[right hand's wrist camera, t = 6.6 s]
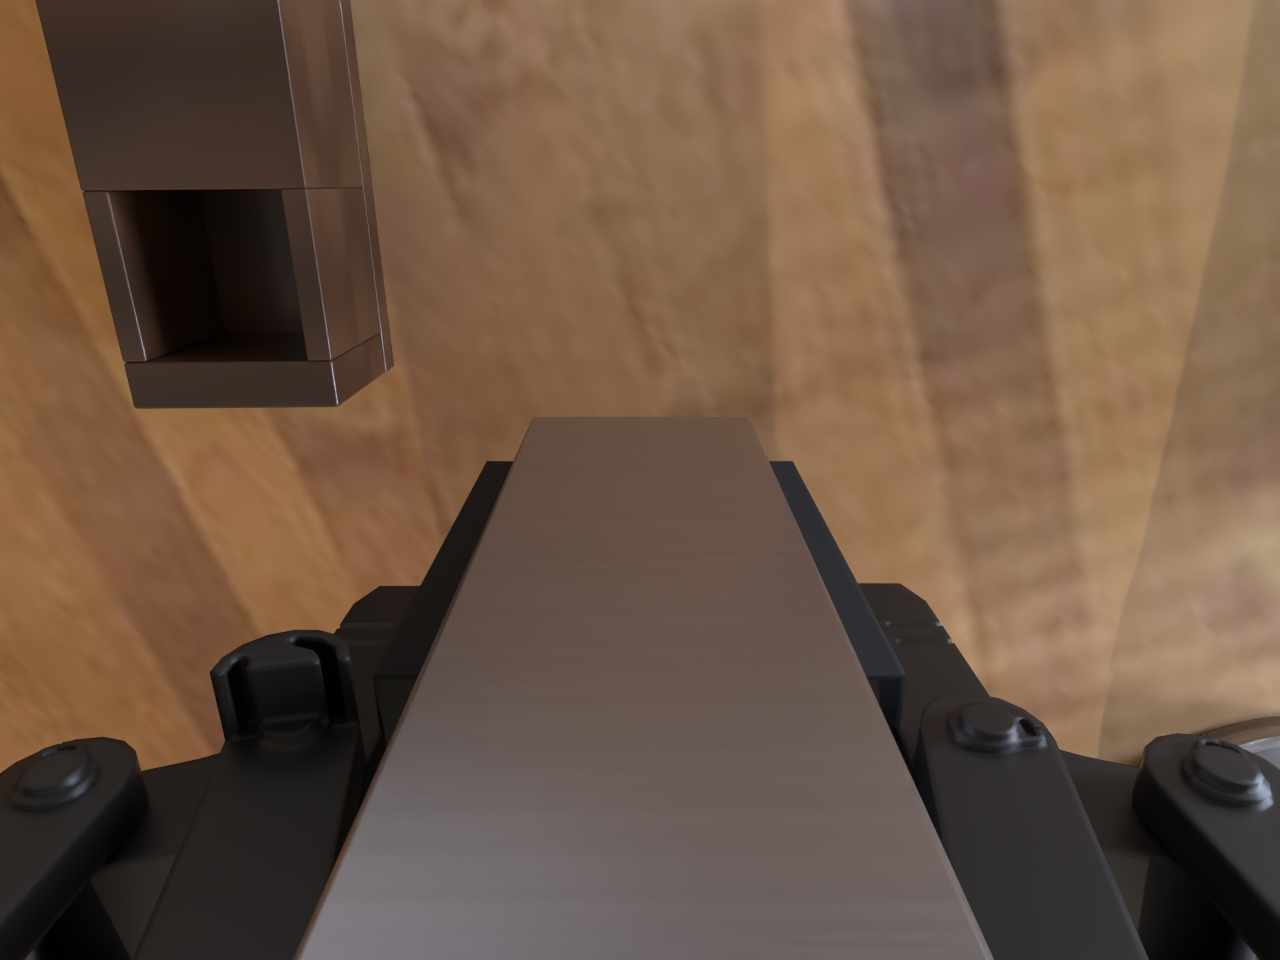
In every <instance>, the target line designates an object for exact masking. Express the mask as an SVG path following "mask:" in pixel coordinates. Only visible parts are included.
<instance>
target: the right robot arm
mask: <svg viewBox="0 0 1280 960" xmlns="http://www.w3.org/2000/svg"><path fill="white" fill-rule="evenodd" d="M512 463H513V461H487V462H486V464H485V466H484V468H483V470H482V471H481V473H480V475H479V477H478V479H477V481H476V483H475V485H474V486H473V488H472V490H471V492H470V494H469V496H468V498H467V500H466V501H465V503H464V505H463V507H462V509H461V511H460V513H459V515H458V516H457V518H456V520H455V522H454V524H453V526H452V528H451V530H450V531H449V533H448V535H447V537H446V539H445V541H444V543H443V545H442V546H441V548H440V550H439V552H438V554H437V556H436V558H435V560H434V561H433V563H432V565H431V567H430V569H429V571H428V573H427V575H426V576H425V578H424V580H423V582H422V584H421V586H379V587H378V588H376V589H375V590H373V591H372V592H370V593H369V594H368V595H366V596H365V597H363V598H362V599H360V600H359V601H357V602H356V603H354V604H353V606H352V607H351V609H350V610H349V612H348V613H347V615H346V616H345V618H344V619H343V621H342V622H341V624H340V629H337V630H336V631H335V633H334V634H331V633H327V632H324V631H320V630H292V631H286V632H281V633H276V634H271V635H267V636H264V637H261V638H259V639H256V640H254V641H251V642H248V643H246V644H243V645H241V646H240V647H238V648H237V649H235V650H233V651H232V652H230V653H229V654H227V655H226V656H224V657H222V659H221V660H220V661H219V662H218V663H217V664H216V666H215V667H214V668H213V669H212V670H211V671H210V676H211V680H212V684H213V689H214V693H215V697H216V702H217V706H218V711H219V715H220V719H221V724H222V728H223V732H224V737H225V742H224V745H223V747H222V749H221V752H220V753H218V754H215V755H211V756H208V757H204V758H200V759H196V760H192V761H187V762H182V763H178V764H173V765H168V766H163V767H159V768H154V769H149V770H144V771H141V769H140V765H139V762H138V758H137V754H136V751H135V750H134V749H133V748H132V747H131V746H129V745H128V744H127V743H126V742H125V741H123V740H117V739H112V738H106V737H97V738H87V739H76V740H73V741H68V742H63V743H62V744H56V745H53V746H50V747H47V748H44V749H42V750H40V751H39V752H37V753H35V754H33V755H30V756H28V757H26V758H24V759H22V760H20V761H18V762H16V763H14V764H13V765H11V766H10V767H9V768H7V769H6V770H4V771H3V772H2V773H0V960H293V958H294V956H295V953H296V951H297V949H298V947H299V944H300V942H301V940H302V938H303V935H304V933H305V931H306V929H307V926H308V924H309V922H310V920H311V917H312V915H313V913H314V911H315V908H316V906H317V904H318V901H319V899H320V897H321V895H322V892H323V890H324V888H325V886H326V883H327V881H328V879H329V877H330V874H331V872H332V870H333V868H334V865H335V863H336V861H337V859H338V856H339V854H340V852H341V850H342V847H343V845H344V843H345V841H346V838H347V836H348V834H349V831H350V829H351V827H352V825H353V822H354V820H355V818H356V816H357V813H358V811H359V809H360V807H361V804H362V802H363V800H364V798H365V795H366V793H367V791H368V789H369V786H370V784H371V782H372V780H373V777H374V775H375V773H376V771H377V768H378V766H379V764H380V762H381V759H382V757H383V755H384V752H385V750H386V748H387V746H388V743H389V741H390V739H391V737H392V734H393V732H394V730H395V728H396V725H397V723H398V721H399V719H400V716H401V714H402V712H403V710H404V707H405V705H406V703H407V701H408V698H409V696H410V694H411V692H412V689H413V687H414V685H415V682H416V680H417V678H418V676H419V673H420V671H421V669H422V667H423V664H424V662H425V660H426V658H427V655H428V653H429V651H430V649H431V646H432V644H433V642H434V640H435V637H436V635H437V633H438V631H439V628H440V626H441V624H442V622H443V619H444V617H445V615H446V612H447V610H448V608H449V606H450V603H451V601H452V599H453V597H454V594H455V592H456V590H457V588H458V585H459V583H460V581H461V579H462V576H463V574H464V572H465V570H466V567H467V565H468V563H469V561H470V558H471V556H472V554H473V552H474V549H475V547H476V545H477V542H478V540H479V538H480V536H481V533H482V531H483V529H484V527H485V524H486V522H487V520H488V518H489V515H490V513H491V511H492V509H493V506H494V504H495V502H496V500H497V497H498V495H499V493H500V491H501V488H502V486H503V484H504V482H505V479H506V477H507V475H508V472H509V470H510V468H511V466H512ZM769 463H770V465H771V467H772V469H773V471H774V474H775V476H776V478H777V480H778V483H779V485H780V487H781V489H782V491H783V494H784V496H785V498H786V500H787V502H788V505H789V507H790V509H791V511H792V514H793V516H794V518H795V520H796V522H797V525H798V527H799V529H800V531H801V533H802V536H803V538H804V540H805V542H806V545H807V547H808V549H809V551H810V553H811V556H812V558H813V560H814V562H815V564H816V567H817V569H818V571H819V573H820V576H821V578H822V580H823V582H824V584H825V587H826V589H827V591H828V593H829V595H830V598H831V600H832V602H833V604H834V607H835V609H836V611H837V613H838V615H839V618H840V620H841V622H842V624H843V626H844V629H845V631H846V633H847V635H848V638H849V640H850V642H851V644H852V646H853V649H854V651H855V653H856V655H857V657H858V660H859V662H860V664H861V666H862V669H863V671H864V673H865V675H866V677H867V680H868V682H869V684H870V686H871V688H872V691H873V693H874V695H875V697H876V700H877V702H878V704H879V706H880V708H881V711H882V713H883V715H884V717H885V719H886V722H887V724H888V726H889V728H890V731H891V733H892V735H893V737H894V739H895V742H896V744H897V746H898V748H899V750H900V753H901V755H902V757H903V759H904V762H905V764H906V766H907V768H908V770H909V773H910V775H911V777H912V779H913V782H914V784H915V786H916V788H917V790H918V793H919V795H920V797H921V799H922V801H923V804H924V806H925V808H926V810H927V813H928V815H929V817H930V819H931V821H932V824H933V826H934V828H935V830H936V832H937V835H938V837H939V839H940V841H941V844H942V846H943V848H944V850H945V852H946V855H947V857H948V859H949V861H950V863H951V866H952V868H953V870H954V872H955V875H956V877H957V879H958V881H959V883H960V886H961V888H962V890H963V892H964V894H965V897H966V899H967V901H968V903H969V906H970V908H971V910H972V912H973V914H974V917H975V919H976V921H977V923H978V925H979V928H980V930H981V932H982V934H983V937H984V939H985V941H986V943H987V945H988V948H989V950H990V952H991V954H992V956H993V959H994V960H1280V717H1269V718H1261V719H1254V720H1249V721H1244V722H1239V723H1236V724H1232V725H1229V726H1225V727H1222V728H1219V729H1216V730H1213V731H1210V732H1207V733H1205V734H1203V735H1189V734H1179V733H1176V734H1171V735H1166V736H1160V737H1156V738H1155V739H1154V740H1153V741H1151V742H1150V743H1149V744H1148V745H1147V746H1146V747H1145V748H1144V752H1143V756H1142V759H1141V763H1140V766H1139V768H1138V767H1133V766H1128V765H1123V764H1119V763H1114V762H1109V761H1104V760H1099V759H1095V758H1090V757H1085V756H1081V755H1077V754H1074V753H1070V752H1066V751H1063V750H1060V749H1059V748H1058V746H1057V743H1056V741H1055V739H1054V738H1053V736H1052V735H1051V734H1050V732H1049V731H1048V729H1047V728H1046V727H1045V725H1044V724H1043V723H1042V722H1041V721H1039V720H1038V719H1036V718H1035V717H1034V716H1032V715H1031V714H1030V713H1028V712H1027V711H1026V710H1024V709H1022V708H1020V707H1018V706H1015V705H1013V704H1011V703H1008V702H1006V701H1004V700H1002V699H999V698H994V697H990V696H989V694H988V693H987V691H986V690H985V689H984V687H983V686H982V684H981V683H980V681H979V680H978V678H977V677H976V675H975V674H974V672H973V671H972V669H971V668H970V666H969V665H968V663H967V662H966V660H965V659H964V657H963V656H962V654H961V653H960V651H959V650H958V648H957V647H956V645H955V644H954V643H951V638H950V636H949V635H948V633H947V632H946V630H945V629H944V627H943V626H940V621H939V620H938V618H937V617H936V616H935V614H934V613H933V611H932V610H931V608H930V607H929V605H928V604H927V602H926V601H925V600H923V599H922V598H920V597H919V596H918V595H916V594H915V593H913V592H912V591H910V590H909V589H907V588H906V587H904V586H903V585H901V584H858V583H857V581H856V579H855V577H854V576H853V574H852V572H851V570H850V568H849V566H848V564H847V562H846V561H845V559H844V557H843V555H842V553H841V551H840V549H839V547H838V546H837V544H836V542H835V540H834V538H833V536H832V534H831V532H830V531H829V529H828V527H827V525H826V523H825V521H824V519H823V517H822V516H821V514H820V512H819V510H818V508H817V506H816V504H815V502H814V501H813V499H812V497H811V495H810V493H809V491H808V489H807V487H806V486H805V484H804V482H803V480H802V478H801V476H800V474H799V472H798V471H797V469H796V467H795V465H794V463H793V461H769Z"/></svg>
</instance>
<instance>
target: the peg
mask: <svg viewBox="0 0 1280 960" xmlns="http://www.w3.org/2000/svg"><path fill="white" fill-rule="evenodd" d="M293 960H994V959H993V956H992V954H991V952H990V950H989V948H988V945H987V943H986V941H985V939H984V937H983V934H982V932H981V930H980V928H979V925H978V923H977V921H976V919H975V917H974V914H973V912H972V910H971V908H970V906H969V903H968V901H967V899H966V897H965V894H964V892H963V890H962V888H961V886H960V883H959V881H958V879H957V877H956V875H955V872H954V870H953V868H952V866H951V863H950V861H949V859H948V857H947V855H946V852H945V850H944V848H943V846H942V844H941V841H940V839H939V837H938V835H937V832H936V830H935V828H934V826H933V824H932V821H931V819H930V817H929V815H928V813H927V810H926V808H925V806H924V804H923V801H922V799H921V797H920V795H919V793H918V790H917V788H916V786H915V784H914V782H913V779H912V777H911V775H910V773H909V770H908V768H907V766H906V764H905V762H904V759H903V757H902V755H901V753H900V750H899V748H898V746H897V744H896V742H895V739H894V737H893V735H892V733H891V731H890V728H889V726H888V724H887V722H886V719H885V717H884V715H883V713H882V711H881V708H880V706H879V704H878V702H877V700H876V697H875V695H874V693H873V691H872V688H871V686H870V684H869V682H868V680H867V677H866V675H865V673H864V671H863V669H862V666H861V664H860V662H859V660H858V657H857V655H856V653H855V651H854V649H853V646H852V644H851V642H850V640H849V638H848V635H847V633H846V631H845V629H844V626H843V624H842V622H841V620H840V618H839V615H838V613H837V611H836V609H835V607H834V604H833V602H832V600H831V598H830V595H829V593H828V591H827V589H826V587H825V584H824V582H823V580H822V578H821V576H820V573H819V571H818V569H817V567H816V564H815V562H814V560H813V558H812V556H811V553H810V551H809V549H808V547H807V545H806V542H805V540H804V538H803V536H802V533H801V531H800V529H799V527H798V525H797V522H796V520H795V518H794V516H793V514H792V511H791V509H790V507H789V505H788V502H787V500H786V498H785V496H784V494H783V491H782V489H781V487H780V485H779V483H778V480H777V478H776V476H775V474H774V471H773V469H772V467H771V465H770V463H769V460H768V458H767V456H766V454H765V452H764V449H763V447H762V445H761V443H760V440H759V438H758V436H757V434H756V432H755V429H754V427H753V425H752V423H751V420H750V418H747V417H535V418H532V421H531V423H530V425H529V427H528V430H527V432H526V434H525V436H524V439H523V441H522V443H521V445H520V448H519V450H518V452H517V454H516V457H515V459H514V461H513V463H512V466H511V468H510V470H509V472H508V475H507V477H506V479H505V482H504V484H503V486H502V488H501V491H500V493H499V495H498V497H497V500H496V502H495V504H494V506H493V509H492V511H491V513H490V515H489V518H488V520H487V522H486V524H485V527H484V529H483V531H482V533H481V536H480V538H479V540H478V542H477V545H476V547H475V549H474V552H473V554H472V556H471V558H470V561H469V563H468V565H467V567H466V570H465V572H464V574H463V576H462V579H461V581H460V583H459V585H458V588H457V590H456V592H455V594H454V597H453V599H452V601H451V603H450V606H449V608H448V610H447V612H446V615H445V617H444V619H443V622H442V624H441V626H440V628H439V631H438V633H437V635H436V637H435V640H434V642H433V644H432V646H431V649H430V651H429V653H428V655H427V658H426V660H425V662H424V664H423V667H422V669H421V671H420V673H419V676H418V678H417V680H416V682H415V685H414V687H413V689H412V692H411V694H410V696H409V698H408V701H407V703H406V705H405V707H404V710H403V712H402V714H401V716H400V719H399V721H398V723H397V725H396V728H395V730H394V732H393V734H392V737H391V739H390V741H389V743H388V746H387V748H386V750H385V752H384V755H383V757H382V759H381V762H380V764H379V766H378V768H377V771H376V773H375V775H374V777H373V780H372V782H371V784H370V786H369V789H368V791H367V793H366V795H365V798H364V800H363V802H362V804H361V807H360V809H359V811H358V813H357V816H356V818H355V820H354V822H353V825H352V827H351V829H350V831H349V834H348V836H347V838H346V841H345V843H344V845H343V847H342V850H341V852H340V854H339V856H338V859H337V861H336V863H335V865H334V868H333V870H332V872H331V874H330V877H329V879H328V881H327V883H326V886H325V888H324V890H323V892H322V895H321V897H320V899H319V901H318V904H317V906H316V908H315V911H314V913H313V915H312V917H311V920H310V922H309V924H308V926H307V929H306V931H305V933H304V935H303V938H302V940H301V942H300V944H299V947H298V949H297V951H296V953H295V956H294V958H293Z"/></svg>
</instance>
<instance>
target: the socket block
mask: <svg viewBox="0 0 1280 960" xmlns="http://www.w3.org/2000/svg"><path fill="white" fill-rule="evenodd" d="M36 4H37V8H38V12H39V16H40V20H41V25H42V29H43V33H44V37H45V41H46V45H47V49H48V54H49V58H50V62H51V66H52V70H53V74H54V78H55V83H56V87H57V91H58V95H59V99H60V103H61V107H62V112H63V116H64V120H65V124H66V128H67V132H68V137H69V141H70V145H71V149H72V153H73V157H74V161H75V166H76V170H77V174H78V178H79V182H80V186H81V190H83V191H84V192H83V196H84V200H85V205H86V209H87V213H88V217H89V221H90V225H91V229H92V234H93V238H94V242H95V246H96V250H97V254H98V258H99V263H100V267H101V271H102V275H103V279H104V283H105V288H106V292H107V296H108V300H109V304H110V308H111V312H112V317H113V321H114V325H115V329H116V333H117V337H118V341H119V346H120V350H121V354H122V358H123V361H125V362H126V363H125V370H126V374H127V378H128V382H129V386H130V390H131V395H132V399H133V403H134V406H135V408H138V409H152V408H266V407H337V406H339V405H341V404H342V403H343V402H345V401H346V400H347V399H349V398H350V397H351V396H353V395H354V394H356V393H357V392H358V391H360V390H361V389H362V388H364V387H365V386H367V385H368V384H369V383H371V382H372V381H373V380H375V379H376V378H378V377H379V376H380V375H382V374H383V373H384V372H387V371H388V370H389V369H391V368H392V367H393V366H394V364H393V356H392V347H391V339H390V331H389V323H388V314H387V306H386V298H385V289H384V281H383V273H382V264H381V256H380V248H379V239H378V231H377V223H376V215H375V206H374V198H373V190H372V181H371V173H370V165H369V156H368V148H367V140H366V131H365V123H364V115H363V107H362V98H361V90H360V82H359V73H358V65H357V57H356V48H355V40H354V32H353V24H352V15H351V7H350V0H36Z"/></svg>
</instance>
